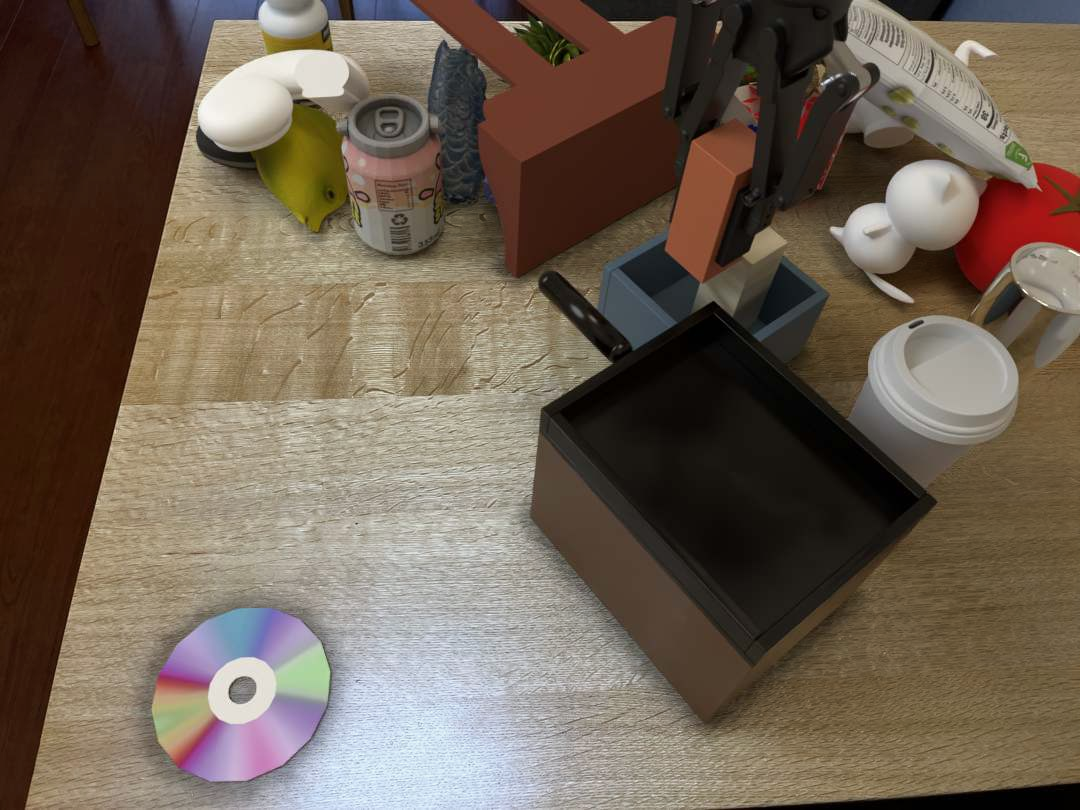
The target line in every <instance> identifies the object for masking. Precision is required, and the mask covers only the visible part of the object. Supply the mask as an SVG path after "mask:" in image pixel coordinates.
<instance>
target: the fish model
mask: <svg viewBox="0 0 1080 810" xmlns="http://www.w3.org/2000/svg"><path fill="white" fill-rule="evenodd" d="M487 89H488V80H487V77H486V74H485V72H484V71H483V70H482V69H481V68H480V67H479V59H478V58H476V57H475V56H474V55H473V54H472V53H470V52H469V51H468V50H467V49H466V48H465V47H463V46H462V45H461V44H460V47H459V48H458V49H457V48H450V46H449V45H448V41H446V39H445V38H444V39H442V41H441V42H440V43H439V44H438V47H437V49H436V52H435V54H434V63H433V68H432V73H431V80H430V86H429V89H428V96H427V110H428V112H429V114H433V115H435V116H437V117H438V119H439V120H440V121H441V124H442V127H441V129H440V130H439V134H438V136H439V139H440V142H441V151H442V171H443V192H444V202H445V203H448V204H452V205H463V204H464V205H471V206H472V205H473V204H474V202H476V201H477V200H478V198H479V193H481V191H482V187H483V185H484V182H483V180H485V179H486V175H485V173H484V170H483V166H482V163H481V159H480V154H479V145H478V124H479V123H481V122H483V121H485V120H486V119H485V117H484V114H483V104H484V101H485V100H486V99H487V97H486V92H487Z"/></svg>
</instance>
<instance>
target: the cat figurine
mask: <svg viewBox="0 0 1080 810" xmlns="http://www.w3.org/2000/svg"><path fill="white" fill-rule="evenodd" d="M986 181H987V180H985V179H983V178H978V177H973V176H972V175H971V173H970V172H968V171H967V170H966V169H965V168H963V166H961V165H959V164H956V163H954V162H952V161H948V160H943V159H923V160H917V161H913V162H911V163H909V164H906V165H905V166H903V167H902V168H900V169H899V170H898V171H897V172H896V173H895V174H894V175H893V176H892V177H891V179H890V181H889V183H888V185H887V189H886V193H885V202H873V203H867V204H864V205H861V206H860V207H857V208H856V209H855V210H854V211H853V212H852V213H851V214H850V215H849V217H848V219H847V221H846V222H845V225H844V226H843V227H839V226H830V228H829V233H830V234H831V235H832V236H833V238H835V239H836V240H837V241H838V242H839V243H840V245H842V246H843V247H844V251H845V253H846V255H847V257H848V259H850V261H851V262H852V263H853V264H854V265H856V266H857V267H858V268H859V269H861V270H862V271H863V272H864V273H865V274H866V276H867V277H868V278H869V280H870V281H871V282H872V284H874V285H875V286H876V287H877V288H878V289H879V290H881V291H882V292H883V293H885V294H886V295H888V296H890V297H891V298H893V299H895V300H898V301H899V302H903V303H906V304H915V303H916V302H915V300H914V299H913V298H912V297H911V296H910V295H909V294H907V293H905V292H904V291H902V290H900V289H899V288H897V287H896V286H894V285H893V284H891V283H889V282H887V281H886V280H884V279H882V278H881V277H879V276H878V275H879V274H880V275H887V274H894V273H897V272H898V271H900V270H902V269H903V268H904V267H906V265H907V264H908V263H909V261H910V260H911V259H912V258H913V257H912V256H913V255H914V253H915V252H916V249H917V248H919V249H921V250H925V251H934V252H935V251H943V250H946V249H950V248H951V247H953V246H955V244H956V243H958V242H959V241H960V240H961V239H962V238H963V237H964V236H965V235H966V234H967V233H968V231H969V230H970V228H971V226H972V224H973V222H974V220H975V218H976V215H977V211H978V206H979V197H980V196H981V195H982V194H983V192H984V191H985V189H986V187H987V183H986ZM876 274H878V275H876Z"/></svg>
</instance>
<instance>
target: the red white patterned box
mask: <svg viewBox="0 0 1080 810" xmlns="http://www.w3.org/2000/svg"><path fill="white" fill-rule="evenodd" d="M749 84H750V85H746V86H742V87H738V88H737V90H736V92H735V94H734V95H733V97H732V99H731V101H730V103H729V105H728V107H727V109H726V111H725V113H724V115H723V116H722V119H721V123H720V124H722V123H724V124H725V123H727V122H729V121H731V120H732V119H734V118H737V119H738V120H739V121H741V122H742V123H743V124H745V125H746V126H747V127H748V128H750V129H751V130H752V131H754V132H755V133H757V125H758V117H759V109H760V101H761V98H760V97H758V96H757V95H756V88H757V82H756V83H749ZM820 95H821V93H820V92H819V91H818V89H817V88H816V90H815V91H814V93H813V94H812V95H811V96H810V97H809V98H807V99H806V100H805V101H804V102H803V108H802V114H801V120H800V127H799V133H798V138H799V135H800V133H801V131H802V128H803V126H804V124H805V121H806V119H807V116H808V114H809V112H810V110H811V108H812V106H813V104H814V102H815V101H816V99H817V98H818V97H819V96H820ZM848 124H849V122H848V123H847V125H846V127H845V129H844V131H843V133H842V135H841V138H840V140H839V142H838V144H837V146H836V148H835V150H834V152H833V154H832V157H831V159H830V161H829V163H828V165H827V167H826V169H825V171H824V174H823V176H822V178H821V180H820V182H819V184H818V186H817V188H816V191H820V190H822V189H823V185H824V183H825V181H826V178H827V176H828V173H829V172H830V169H831V167H832V164H833V162H834V160H835V157H836V155H837V152H838V150H839V148H840V145H841V143H842V141H843V138H844V136H845V134H846V133H845V131H846V129H847V127H848ZM797 140H798V139H797ZM816 191H815V192H816Z"/></svg>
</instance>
